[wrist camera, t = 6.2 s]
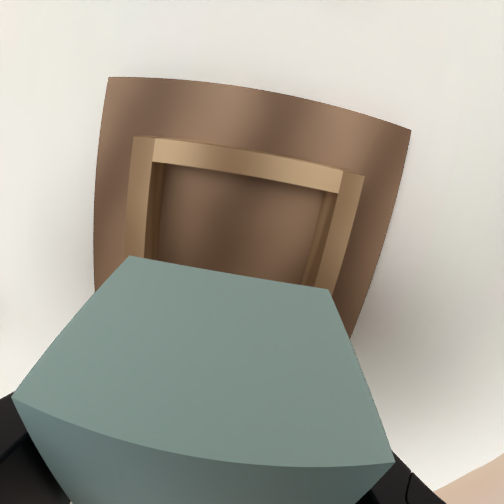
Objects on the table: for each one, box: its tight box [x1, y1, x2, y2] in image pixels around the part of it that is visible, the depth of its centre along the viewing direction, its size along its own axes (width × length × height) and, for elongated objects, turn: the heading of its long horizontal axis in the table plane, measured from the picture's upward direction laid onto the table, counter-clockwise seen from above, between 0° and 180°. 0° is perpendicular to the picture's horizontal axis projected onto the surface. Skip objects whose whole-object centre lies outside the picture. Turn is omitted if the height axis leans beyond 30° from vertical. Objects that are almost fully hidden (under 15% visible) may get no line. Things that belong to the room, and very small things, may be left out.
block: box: [11, 255, 395, 504], centre depth 6 cm, size 5×5×5 cm
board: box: [93, 77, 411, 339], centre depth 16 cm, size 16×16×4 cm
